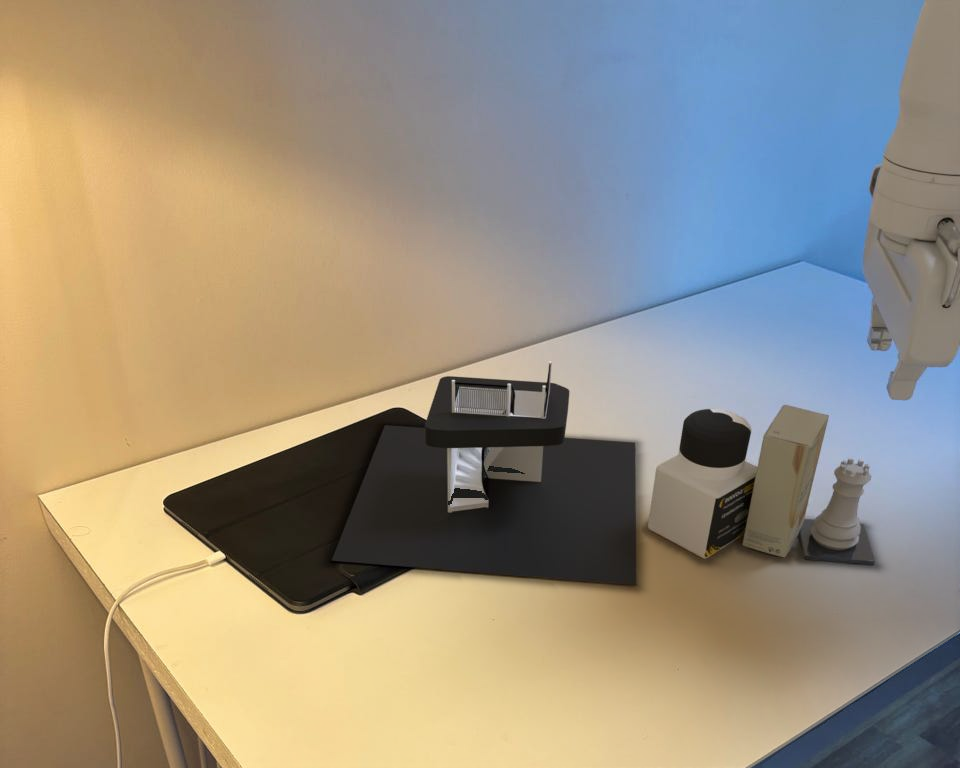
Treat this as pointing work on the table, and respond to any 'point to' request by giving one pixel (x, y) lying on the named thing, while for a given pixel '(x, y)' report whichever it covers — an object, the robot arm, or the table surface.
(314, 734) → the table surface
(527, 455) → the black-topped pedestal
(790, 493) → the cosmetic box
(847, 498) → the rook chess piece
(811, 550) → the slate coaster
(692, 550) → the medicine bottle
